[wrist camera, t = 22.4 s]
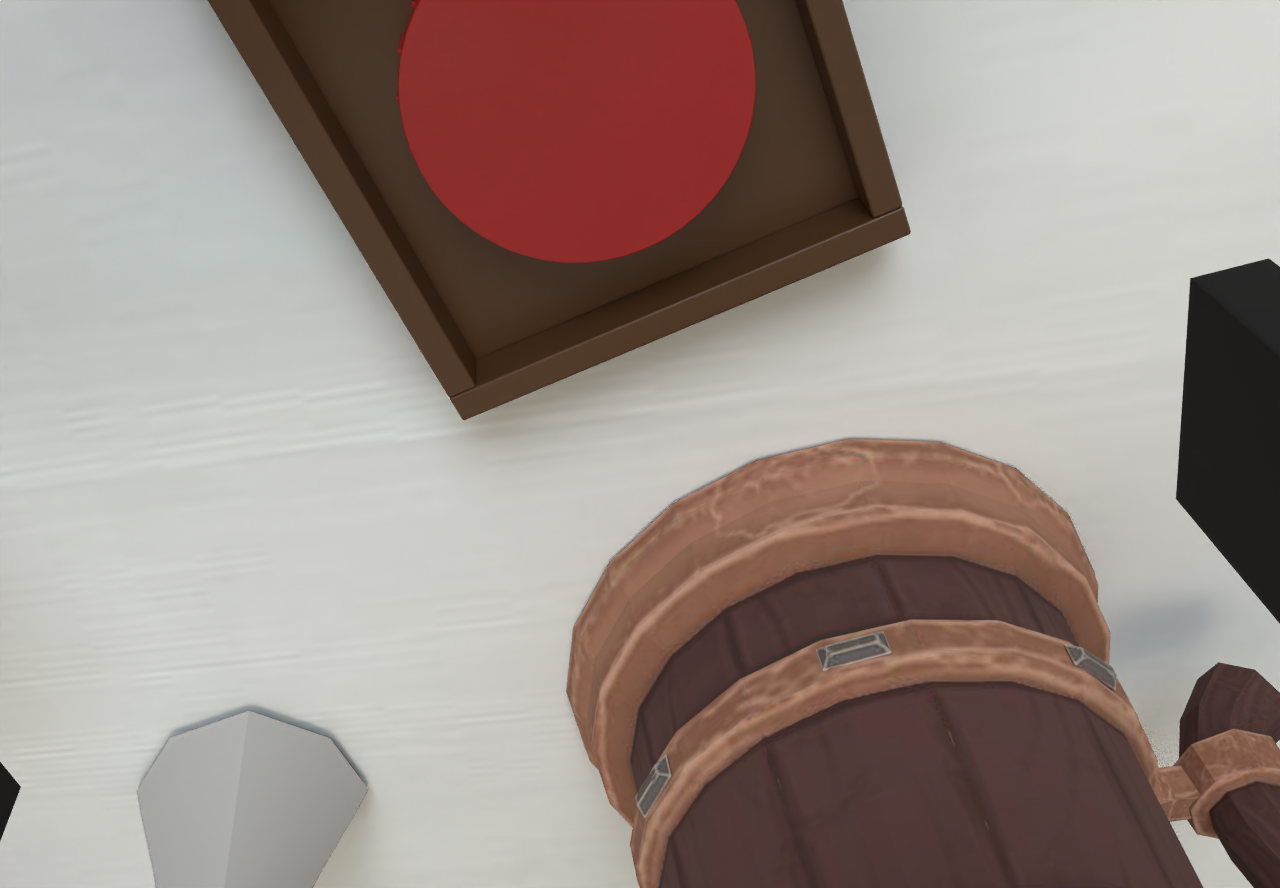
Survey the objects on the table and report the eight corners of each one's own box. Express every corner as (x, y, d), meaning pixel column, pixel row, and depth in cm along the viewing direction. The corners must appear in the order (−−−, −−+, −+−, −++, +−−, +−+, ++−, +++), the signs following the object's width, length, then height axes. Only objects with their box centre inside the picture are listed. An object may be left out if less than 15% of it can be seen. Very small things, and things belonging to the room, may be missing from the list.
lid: (712, 247, 31) (724, 277, 30) (395, 222, 30) (391, 252, 28) (773, -87, 27) (791, -72, 25) (404, -135, 25) (400, -121, 24)
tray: (175, -102, 26) (154, -86, 24) (715, -370, 24) (733, -371, 22) (463, 383, 33) (462, 421, 31) (889, 203, 32) (912, 234, 30)
